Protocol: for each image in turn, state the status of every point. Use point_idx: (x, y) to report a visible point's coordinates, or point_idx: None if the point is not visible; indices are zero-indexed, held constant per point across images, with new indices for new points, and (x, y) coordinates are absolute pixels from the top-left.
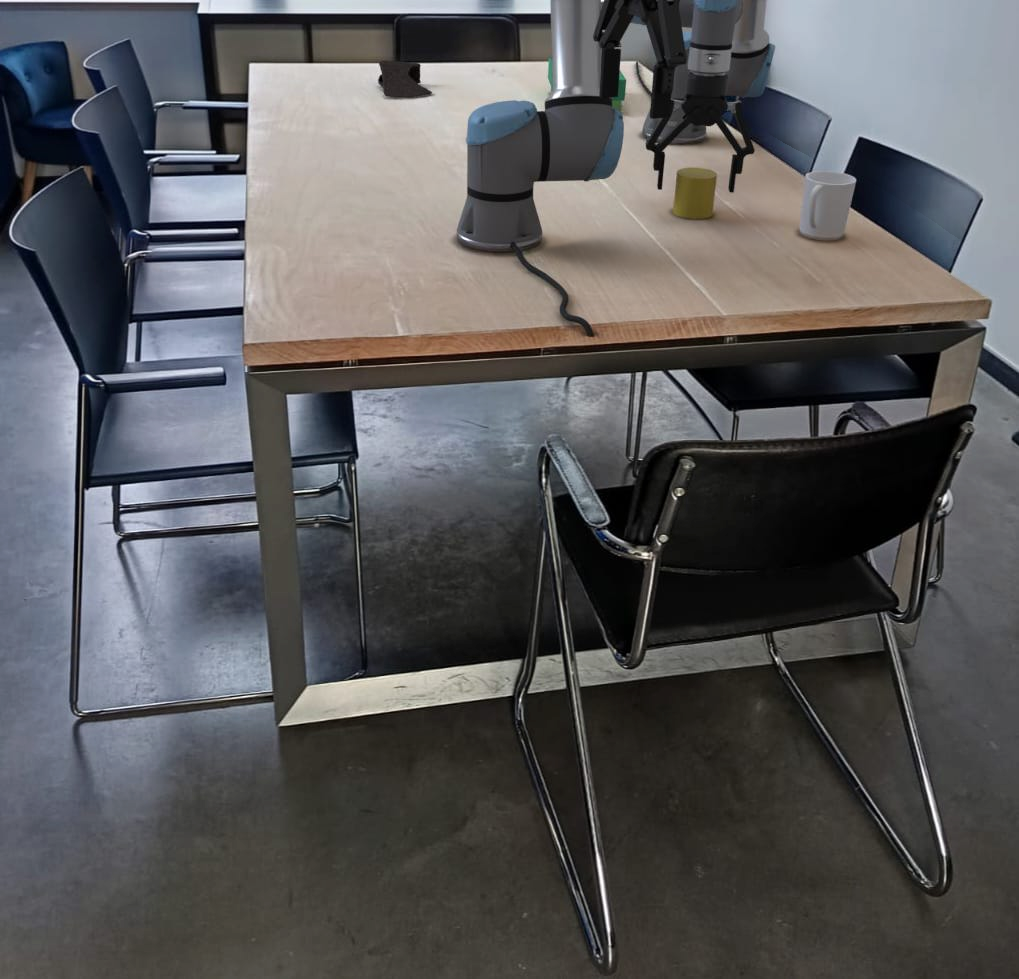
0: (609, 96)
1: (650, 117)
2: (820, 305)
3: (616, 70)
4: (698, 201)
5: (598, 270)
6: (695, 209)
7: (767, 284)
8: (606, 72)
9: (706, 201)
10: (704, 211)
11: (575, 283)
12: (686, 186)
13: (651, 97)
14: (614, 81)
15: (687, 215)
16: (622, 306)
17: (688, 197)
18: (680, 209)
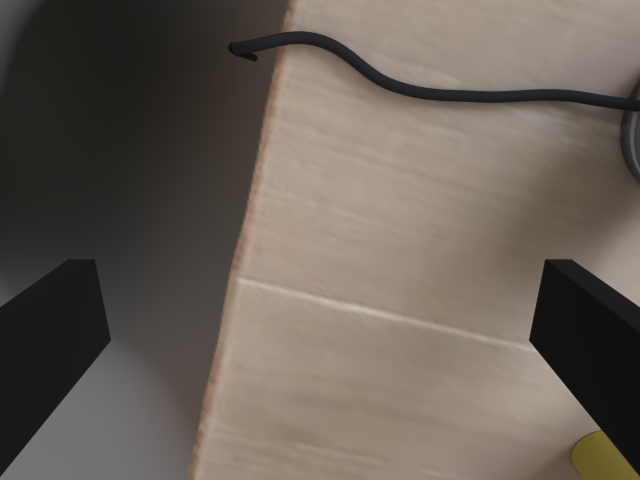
0: (539, 301)
1: (84, 259)
2: (225, 401)
3: (609, 414)
4: (591, 466)
5: (476, 206)
6: (586, 453)
7: (313, 387)
8: (625, 347)
9: (586, 476)
10: (577, 461)
11: (445, 141)
12: (625, 473)
13: (33, 305)
14: (573, 364)
15: (589, 438)
16: (325, 161)
17: (608, 461)
18: (606, 439)
